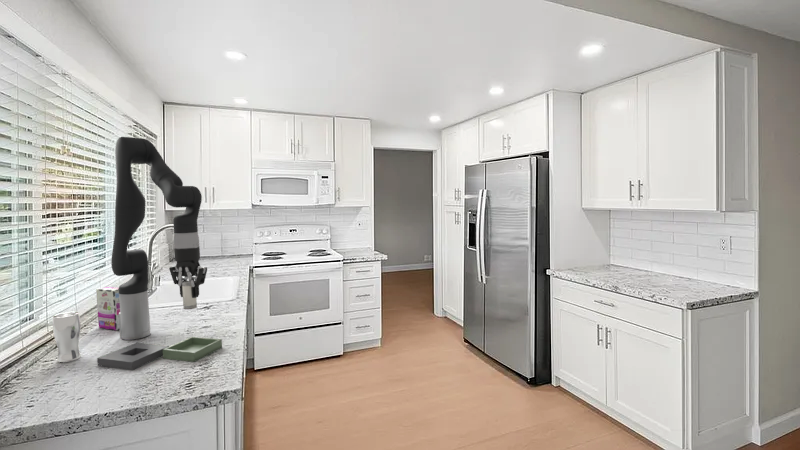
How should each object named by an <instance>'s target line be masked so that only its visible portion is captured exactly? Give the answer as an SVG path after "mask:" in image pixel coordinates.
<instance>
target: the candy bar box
mask: <svg viewBox="0 0 800 450" xmlns="http://www.w3.org/2000/svg"><path fill="white" fill-rule="evenodd" d="M95 291H96V304H97V317H98V318H97V321H98V328H99V329H102V330H104V329H105V330H111V331H120V329H119V315H118V314H119V313H120V301H119V287H110V286H106V287H100V288H96V289H95Z"/></svg>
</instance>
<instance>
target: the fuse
mask: <svg viewBox="0 0 800 450" xmlns="http://www.w3.org/2000/svg"><path fill="white" fill-rule="evenodd" d="M194 281H195V279H194ZM191 287H192V285H191V281H190V280H189V279H187V281H183V282H182V291H183V297H182V305H183V306H182V307H183V310H184V311H185V310H194V309H196V308H198V304H197V303H198V302H197V297H196V298H192V290H191Z"/></svg>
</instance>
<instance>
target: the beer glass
mask: <svg viewBox="0 0 800 450" xmlns="http://www.w3.org/2000/svg"><path fill="white" fill-rule="evenodd" d="M81 328H82V327H81V319H80V313H79V311H67V312H62V313H57V314H55V315H53V316H52V331H53V332H52V333H53V338H54V340H55V344H56V346H57V347H56V348H57V353H58V354H57V358H56V359H57V363H60V362H63V363H68V362H74V361H77V360H79V359H81V357H82V355H81V352H80V346H79V345H80V336H81Z"/></svg>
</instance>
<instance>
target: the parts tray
mask: <svg viewBox="0 0 800 450" xmlns="http://www.w3.org/2000/svg"><path fill="white" fill-rule="evenodd" d="M222 341H223V340H222V338H213V337H211V338H210V337H201V336H200V337H199V336H190V337H187V338H186V339H185V338H184V339H183V340H181V341H179V342H176V343H174V344H172V345H168V346H169V347H167V348H165V349H163V356H162V358H163V359H167V360H172V361H184V362H189V363H190V362H192V363H195V362H198V361H199V360H201V359H203V358H205V357H207V356H209V355H211V354H212V353H214V352H217V351H218V350H220V349H222V348H223V342H222Z"/></svg>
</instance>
